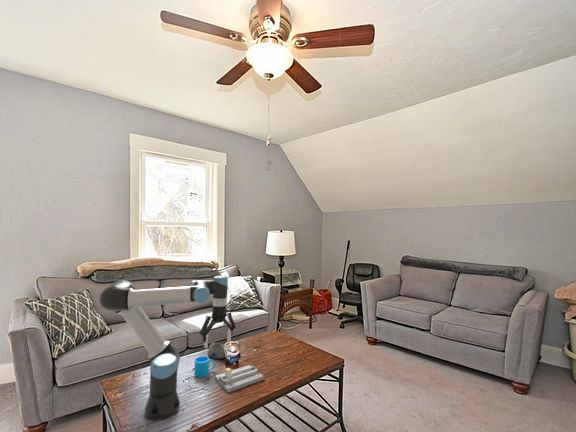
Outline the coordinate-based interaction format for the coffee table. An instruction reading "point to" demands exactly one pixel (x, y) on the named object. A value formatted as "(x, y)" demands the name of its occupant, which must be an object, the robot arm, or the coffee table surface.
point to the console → (239, 378)
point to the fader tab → (228, 373)
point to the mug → (202, 366)
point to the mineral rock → (216, 351)
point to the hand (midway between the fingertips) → (217, 344)
